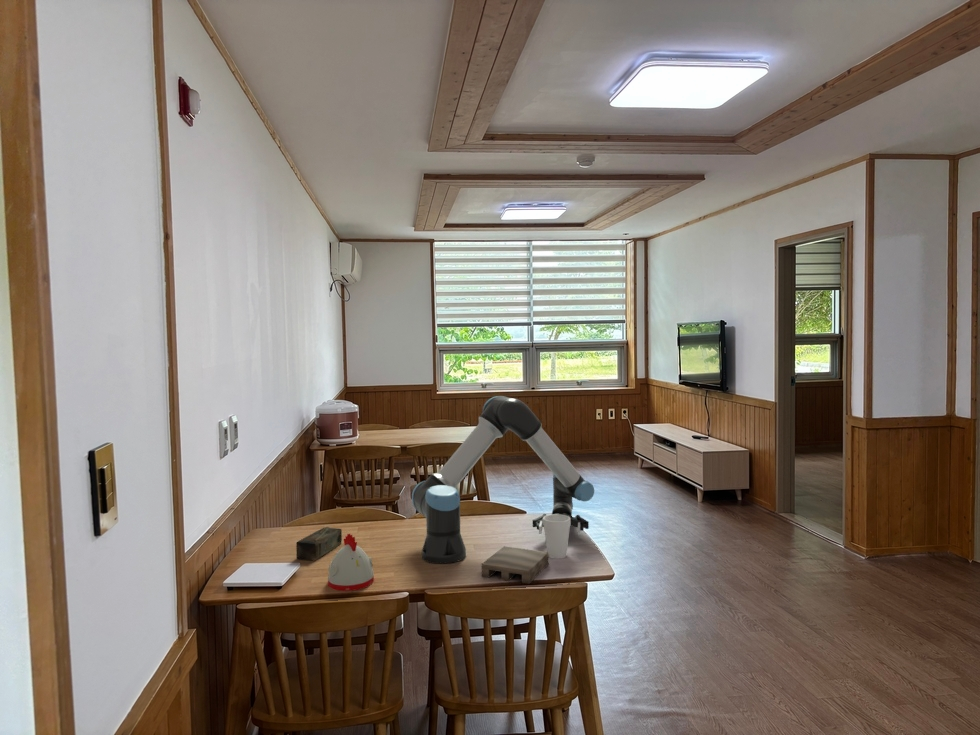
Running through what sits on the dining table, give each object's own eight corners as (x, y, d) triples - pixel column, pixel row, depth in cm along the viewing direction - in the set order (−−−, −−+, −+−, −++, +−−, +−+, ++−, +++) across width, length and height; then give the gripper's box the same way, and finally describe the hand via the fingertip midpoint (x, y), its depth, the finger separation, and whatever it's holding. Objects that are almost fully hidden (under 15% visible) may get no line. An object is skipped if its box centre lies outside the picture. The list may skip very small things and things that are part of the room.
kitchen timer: (338, 594, 186) (337, 544, 185) (321, 580, 197) (319, 533, 197) (381, 583, 194) (380, 535, 194) (362, 570, 205) (361, 525, 205)
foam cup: (576, 556, 215) (576, 518, 215) (556, 562, 210) (556, 523, 209) (557, 549, 223) (557, 512, 222) (537, 554, 217) (537, 517, 217)
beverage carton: (343, 544, 233) (342, 526, 233) (315, 562, 215) (315, 543, 214) (323, 542, 235) (323, 525, 235) (295, 560, 217) (294, 541, 216)
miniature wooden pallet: (529, 583, 192) (529, 570, 191) (481, 576, 198) (481, 563, 198) (548, 564, 208) (548, 552, 208) (504, 557, 215) (503, 546, 214)
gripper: (594, 524, 240) (595, 542, 219) (529, 522, 244) (524, 540, 223) (594, 505, 240) (595, 521, 219) (529, 503, 243) (523, 519, 223)
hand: (559, 530), depth 221 cm, fingers open, 13 cm apart
